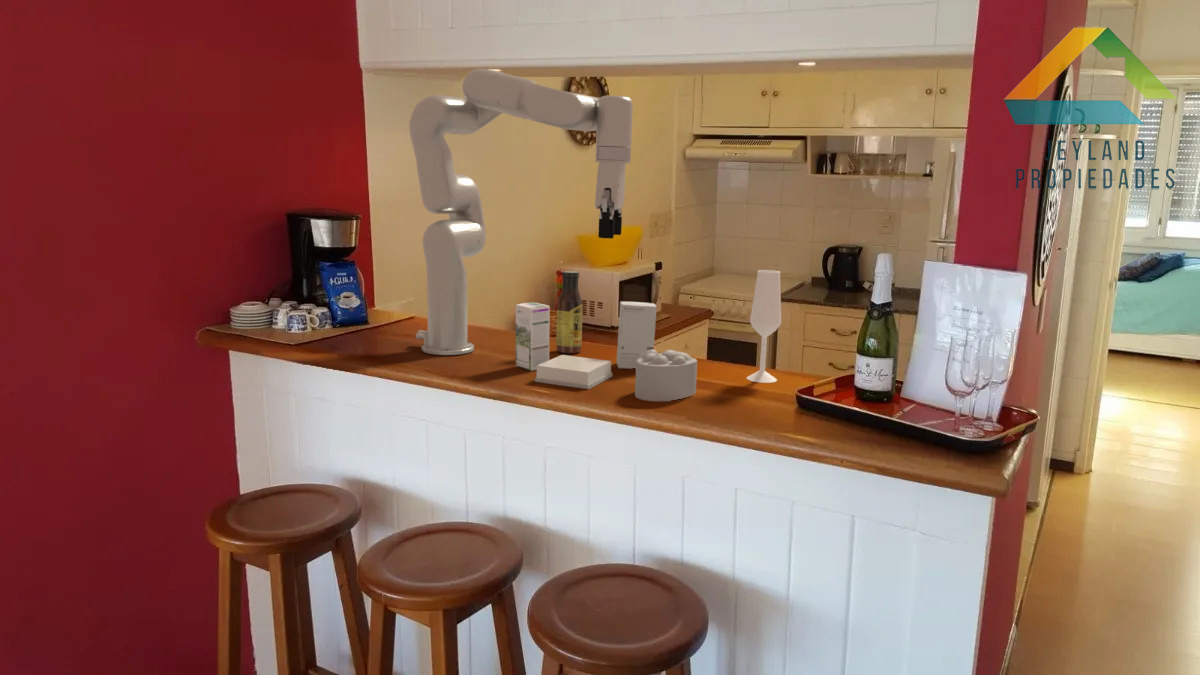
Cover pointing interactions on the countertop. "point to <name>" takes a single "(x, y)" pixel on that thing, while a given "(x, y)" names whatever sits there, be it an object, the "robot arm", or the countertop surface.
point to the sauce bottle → (569, 315)
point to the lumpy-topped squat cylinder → (665, 376)
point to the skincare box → (635, 332)
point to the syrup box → (532, 335)
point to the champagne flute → (765, 316)
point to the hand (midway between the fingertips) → (610, 236)
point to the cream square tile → (574, 371)
